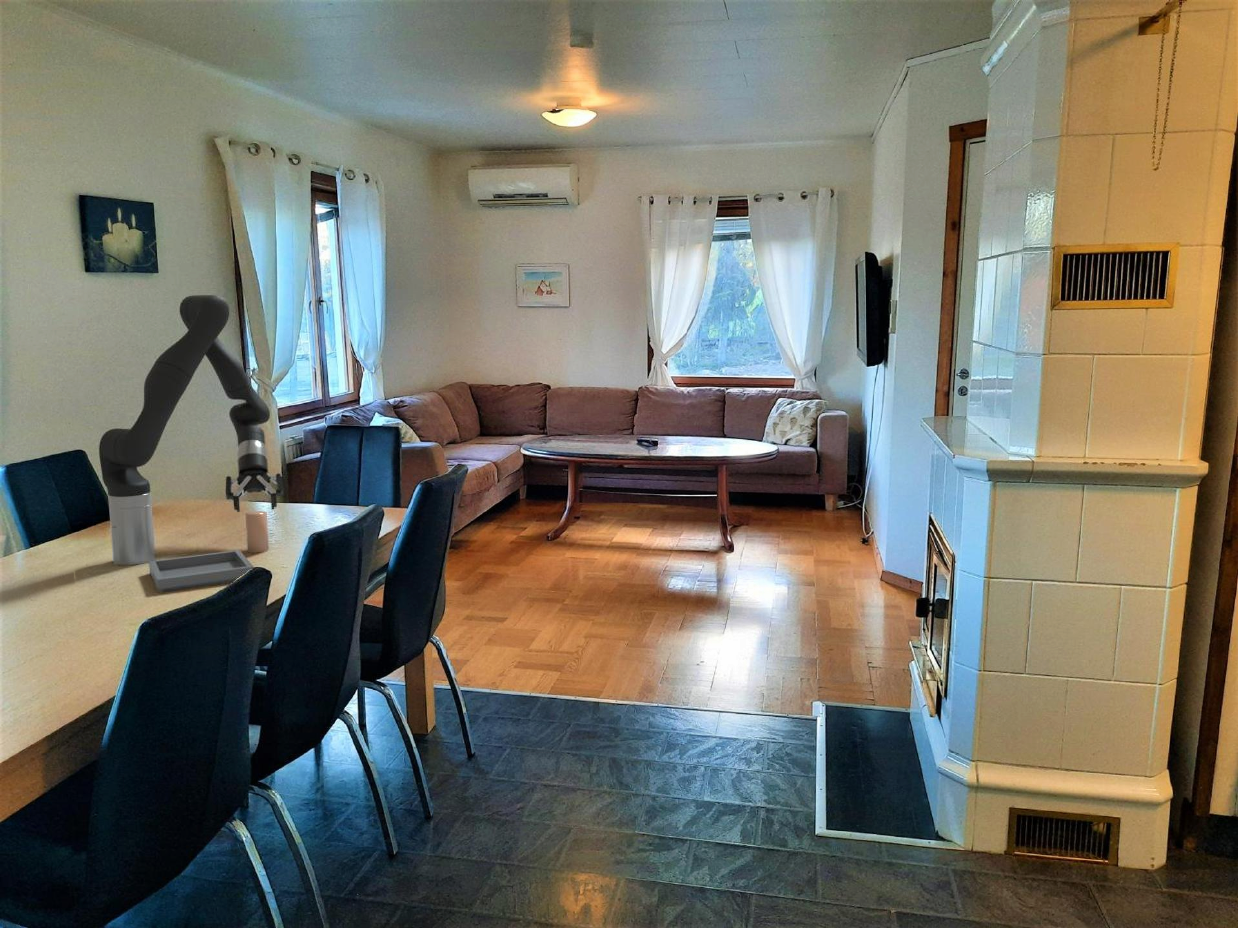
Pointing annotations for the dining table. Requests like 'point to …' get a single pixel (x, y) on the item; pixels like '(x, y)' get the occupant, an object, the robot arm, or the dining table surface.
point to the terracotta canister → (257, 531)
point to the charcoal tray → (198, 570)
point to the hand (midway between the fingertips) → (255, 509)
